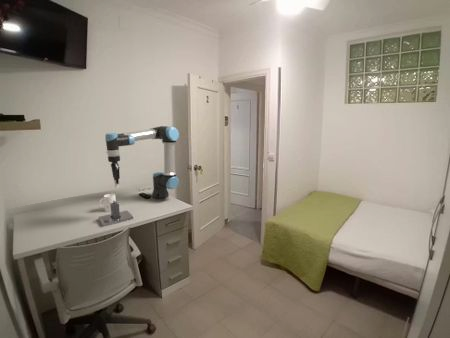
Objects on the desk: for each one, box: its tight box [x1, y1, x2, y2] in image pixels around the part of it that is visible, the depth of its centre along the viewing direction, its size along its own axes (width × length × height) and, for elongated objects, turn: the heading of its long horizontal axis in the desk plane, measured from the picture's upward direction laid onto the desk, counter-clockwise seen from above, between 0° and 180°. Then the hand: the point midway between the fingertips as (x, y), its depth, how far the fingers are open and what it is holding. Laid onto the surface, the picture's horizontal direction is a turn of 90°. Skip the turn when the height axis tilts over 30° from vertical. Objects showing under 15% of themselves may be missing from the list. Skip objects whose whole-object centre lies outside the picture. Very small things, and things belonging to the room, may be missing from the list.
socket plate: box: [97, 210, 134, 228], centre depth 165 cm, size 20×14×3 cm
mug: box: [99, 193, 117, 213], centre depth 180 cm, size 12×8×12 cm
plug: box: [110, 200, 120, 219], centre depth 164 cm, size 4×4×14 cm
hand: (117, 187), depth 166 cm, fingers closed
